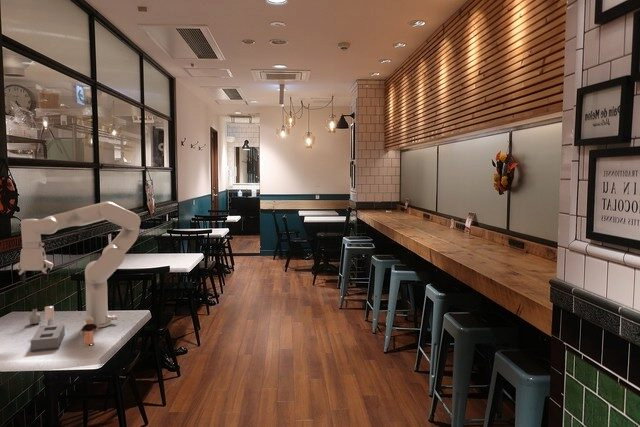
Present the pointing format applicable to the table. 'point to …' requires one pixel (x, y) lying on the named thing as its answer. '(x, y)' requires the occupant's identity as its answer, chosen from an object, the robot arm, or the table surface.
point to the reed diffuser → (34, 311)
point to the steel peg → (49, 315)
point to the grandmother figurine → (88, 331)
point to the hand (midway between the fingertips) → (34, 282)
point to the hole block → (48, 338)
